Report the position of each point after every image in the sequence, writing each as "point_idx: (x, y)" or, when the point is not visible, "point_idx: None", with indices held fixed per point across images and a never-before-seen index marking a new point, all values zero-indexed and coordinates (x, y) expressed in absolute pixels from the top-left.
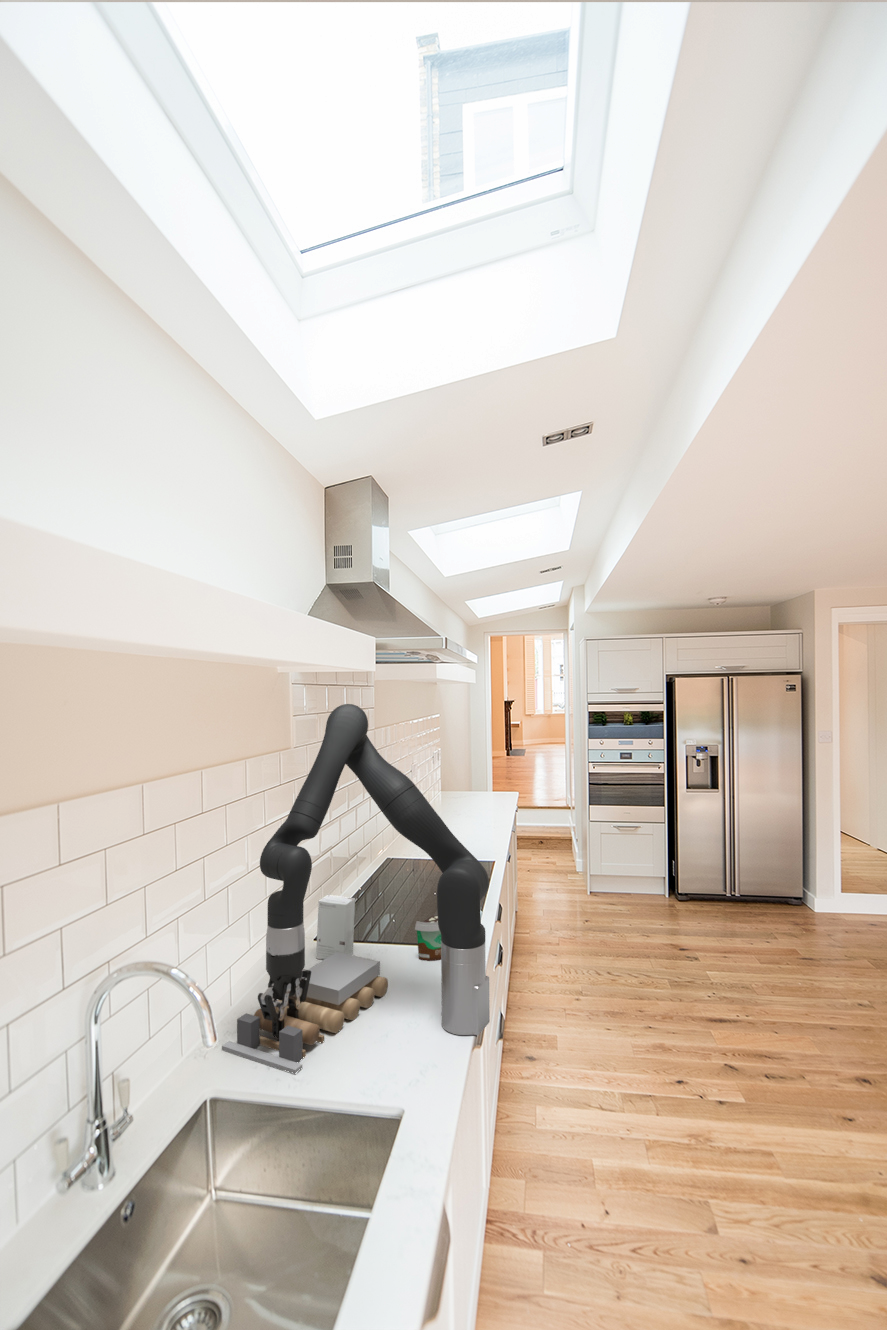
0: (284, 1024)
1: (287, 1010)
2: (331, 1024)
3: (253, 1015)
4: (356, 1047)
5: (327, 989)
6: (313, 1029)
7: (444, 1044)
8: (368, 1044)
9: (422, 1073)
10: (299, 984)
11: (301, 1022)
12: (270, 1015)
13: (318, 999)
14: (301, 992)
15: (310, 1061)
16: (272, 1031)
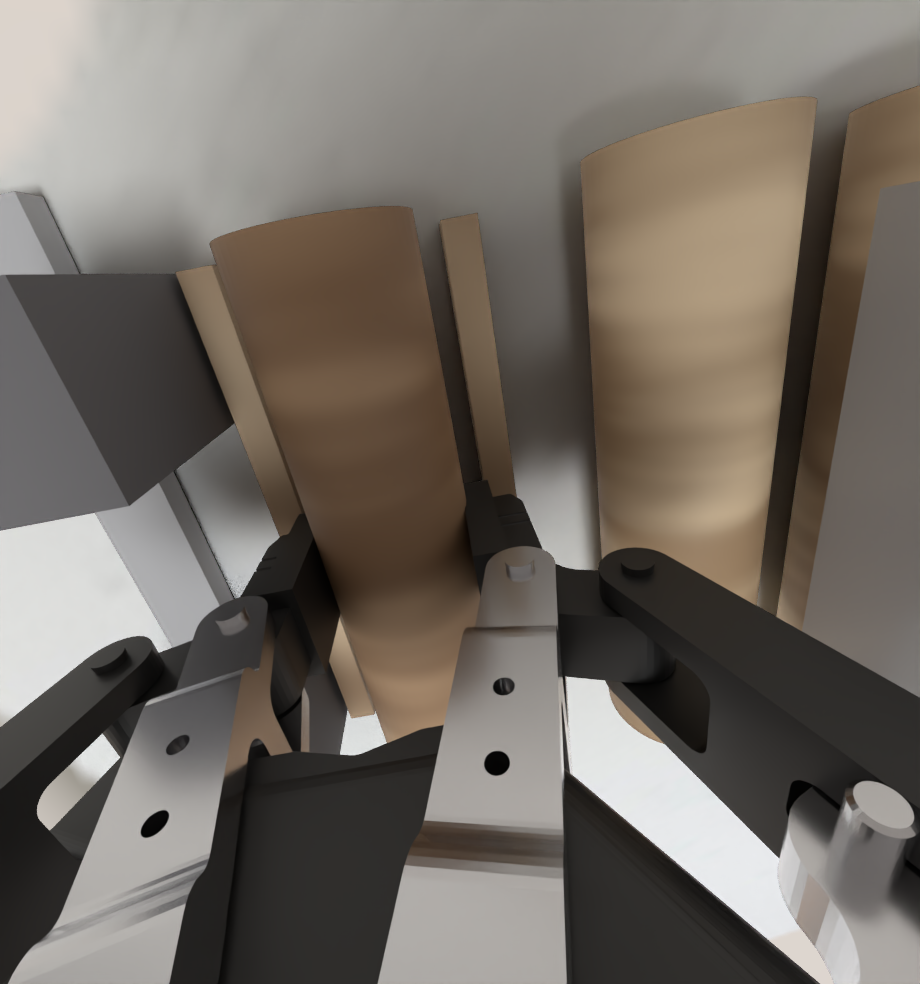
0: (350, 619)
1: (473, 550)
2: (617, 704)
3: (79, 411)
4: (577, 771)
5: None
6: None
7: (747, 915)
8: (623, 786)
9: None
10: (748, 742)
11: None
12: (78, 807)
13: (820, 545)
14: (882, 343)
15: (366, 723)
16: (265, 558)
